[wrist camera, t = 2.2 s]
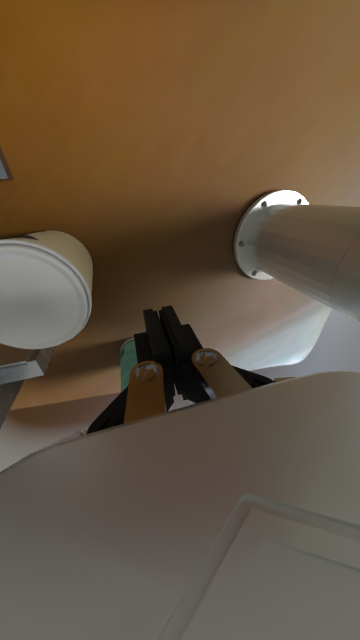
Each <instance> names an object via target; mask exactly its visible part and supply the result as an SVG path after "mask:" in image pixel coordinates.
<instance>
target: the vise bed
mask: <svg viewBox="0 0 360 640" xmlns="http://www.w3.org/2000/svg"><path fill="white" fill-rule="evenodd" d="M7 179H13V178H12V175H11V173H10V170H9V168H8V165H7V162H6V160H5V157H4V155H3V152H2V150H1V147H0V180H7Z"/></svg>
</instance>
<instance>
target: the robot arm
mask: <svg viewBox="0 0 360 640" xmlns="http://www.w3.org/2000/svg"><path fill="white" fill-rule="evenodd" d="M239 242H240V243H239ZM234 256H235V260H236V262H237V264H238V267H239V268H240V269H241V270H242V272H244V273H245V274H246V275H248V276H249V277H251V278H254V279H257V280H269V279H273V278H275V279H277V280H279V281H281V282H283V283H285V284H287V285H289V286H291V287H292V288H294V289H296V290H298V291H300V292H302V293H304V294H306V295H308V296H310V297H311V298H313V299H315V300H317V301H319V302H321V303H323V304H325V305H327V306H329V307H330V308H332V309H335V310H336V311H338V312H340V313H342V314H344V315H346V316H348V317H350V318H352V319H354V320H357V321H360V207H347V206H327V205H309V204H308V202H307V200H306V199H305V198H304V197H303V196H302V195H301V194H299V193H298V192H295V191H292V190H276V191H273V192H269V193H267V194H265V195H263V196H262V197H260V198H259V199H258V200H256V201H255V202H254V203H253V204H252V205H251V206H250V207H249V208H248V209H247V211H246V212H245V214H244V215H243V217H242V218H241V220H240V222H239V225H238V227H237V230H236V233H235V237H234ZM143 314H144V320H145V326H146V332H144V333H139V334H134V340H135V348H136V355H137V362H138V364H137V365H136V366H134V367H133V369H132V370H131V372H130V377H129V385H128V386H127V387H126V388H125V389H124V390H123V391H122V392H121V393H120V395H118V397H117V398H116V399H115V400H114V401H113V402H112V403H111V404H110V405H109V406H108V407H107V408H106V409H105V410H104V411H103V412H102V413H101V414H100V415H99V416H98V418H96V420H95V421H94V422H93V423H92V424H91V425H90V427H89V429H88V430H86V431H84V432H82V433H81V431H78V432H76V433H74V434H72V435H69V436H67V437H65V438H63V439H61V440H59V441H57V442H55V443H53V444H50V445H48V446H46V447H44V448H42V449H40V450H38V451H36V452H34V453H31V454H29V455H28V456H26V457H24V458H23V459H21V460H19V461H18V462H16V463H14V464H13V465H11V466H9V467H8V468H6V469H4V470H3V471H1V472H0V640H360V372H353V371H327V372H319V373H313V374H309V375H304V376H299V377H290V378H289V377H287V378H275V379H274V381H272V380H271V379H269V378H267V377H264V376H261V375H258V374H255V373H253V372H250V371H247V370H244V369H241V368H238V367H234V366H231V365H230V364H229V362H228V361H227V360H226V359H225V358H224V357H223V356H222V355H221V354H220V353H219V352H218V351H216V350H214V349H209V348H203V347H202V346H201V344H200V342H199V340H198V339H197V337H196V335H195V333H194V332H193V330H192V328H191V326H190V325H189V324H186V325H181V323H180V321H179V319H178V317H177V315H176V313H175V311H174V309H173V307H172V306H166V307H162V310H159V315H160V319H159V317H158V314H157V311H153V309H148V310H143ZM174 384H175V386H176V390H177V393H178V395H180V394H182V396H183V399H184V400H187V399H188V400H190V401H193V405H190V406H186V407H183V408H179V409H175V410H172V411H168V410H169V408H170V407H171V405H172V404H173V403H174V400H173V396H175V388H174Z"/></svg>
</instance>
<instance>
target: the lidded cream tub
mask: <svg viewBox="0 0 360 640" xmlns="http://www.w3.org/2000/svg"><path fill="white" fill-rule="evenodd" d="M92 278H93V264H92V259H91V256H90V254H89V252H88V251H87V249H86V248H85V246H84V245H83V244H82V243H81V242H80V241H78V240H77V239H76V238H74V237H73V236H71V235H69V234H67V233H64V232H60V231H54V230H47V231H40V232H35V233H31V234H26V235H22V236H18V237H14V238H9V239H3V240H0V343H2V344H5V345H8V346H12V347H16V348H23V349H43V348H49V347H53V346H57V345H59V344H62V343H64V342H66V341H68V340H69V339H71V338H73V337H74V336H76V335H77V334H78V333H79V332H80V331H81V330H82V329H83V328H84V326H85V325H86V323H87V321H88V319H89V317H90V314H91V309H92V298H91V293H92Z"/></svg>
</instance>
